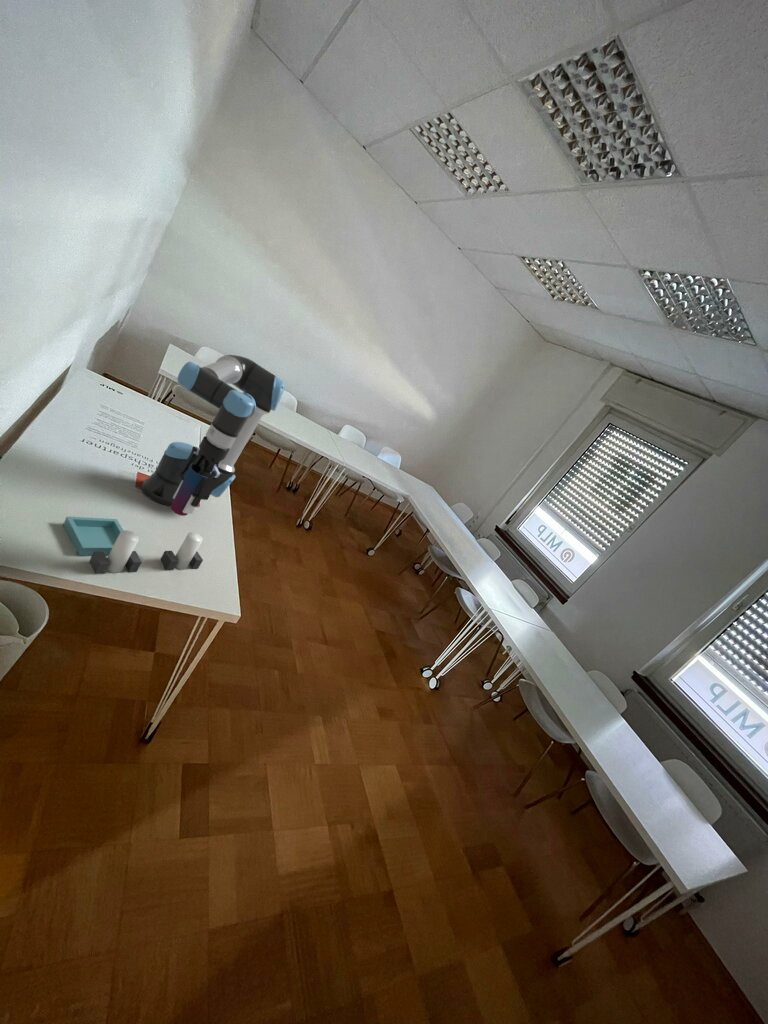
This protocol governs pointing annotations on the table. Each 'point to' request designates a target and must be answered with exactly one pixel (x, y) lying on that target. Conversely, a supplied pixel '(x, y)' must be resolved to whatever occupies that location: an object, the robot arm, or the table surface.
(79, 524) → the tray
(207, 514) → the table surface
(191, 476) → the cup
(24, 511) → the table surface
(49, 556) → the table surface
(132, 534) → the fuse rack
